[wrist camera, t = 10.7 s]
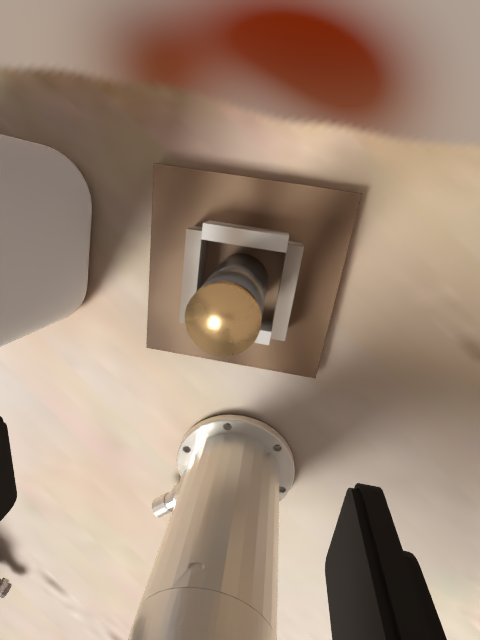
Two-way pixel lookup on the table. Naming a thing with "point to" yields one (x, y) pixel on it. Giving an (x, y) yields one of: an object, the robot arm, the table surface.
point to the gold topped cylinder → (228, 307)
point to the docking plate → (258, 241)
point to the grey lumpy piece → (4, 587)
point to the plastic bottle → (40, 237)
